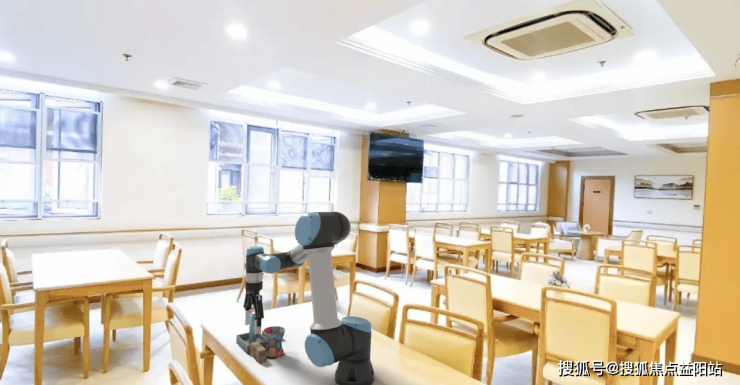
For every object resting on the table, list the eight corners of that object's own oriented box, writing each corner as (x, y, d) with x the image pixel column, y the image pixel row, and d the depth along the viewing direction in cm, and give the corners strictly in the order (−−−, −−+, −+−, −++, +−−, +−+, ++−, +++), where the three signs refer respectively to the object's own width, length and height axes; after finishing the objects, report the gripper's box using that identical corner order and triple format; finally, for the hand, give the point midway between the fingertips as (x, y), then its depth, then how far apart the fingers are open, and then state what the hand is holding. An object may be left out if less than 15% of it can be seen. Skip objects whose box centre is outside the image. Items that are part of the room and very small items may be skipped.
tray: (269, 348, 171) (269, 340, 171) (246, 353, 165) (247, 345, 165) (257, 337, 182) (257, 330, 182) (236, 342, 176) (236, 335, 176)
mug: (275, 361, 160) (276, 335, 159) (257, 356, 163) (258, 331, 163) (292, 350, 171) (293, 326, 170) (275, 345, 174) (276, 322, 174)
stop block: (265, 361, 159) (266, 349, 159) (258, 363, 157) (259, 351, 157) (256, 352, 167) (257, 341, 167) (250, 354, 165) (250, 342, 165)
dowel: (257, 343, 174) (258, 315, 173) (250, 345, 172) (251, 316, 171) (254, 341, 176) (255, 313, 176) (247, 342, 174) (248, 314, 174)
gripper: (272, 285, 166) (271, 335, 166) (252, 274, 185) (251, 319, 185) (255, 288, 161) (254, 339, 162) (237, 276, 180) (235, 322, 181)
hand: (252, 328), depth 174 cm, fingers open, 11 cm apart
